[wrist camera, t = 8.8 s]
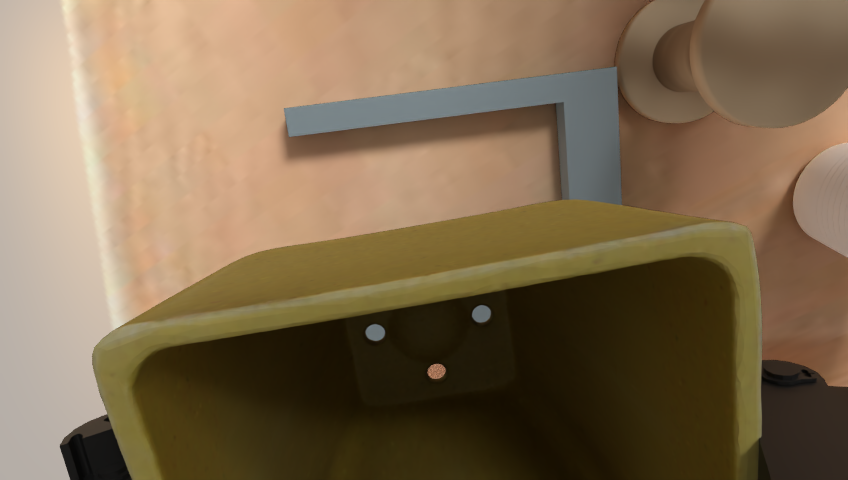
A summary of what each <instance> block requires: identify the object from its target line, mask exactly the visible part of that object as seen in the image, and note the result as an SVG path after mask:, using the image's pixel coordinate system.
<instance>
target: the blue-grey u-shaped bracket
mask: <svg viewBox="0 0 848 480" xmlns="http://www.w3.org/2000/svg"><path fill="white" fill-rule="evenodd" d="M552 103H556V114H557V130H558V145H559V161H560V177H561V193H562V200H572V199H579V200H589V201H597V202H604V203H610V204H617V205H622V194H621V167H620V140H619V112H618V85H617V67H609V68H601V69H593V70H585V71H577V72H569V73H562V74H554V75H546V76H538V77H530V78H522V79H514V80H506V81H498V82H490V83H482V84H474V85H466V86H458V87H450V88H442V89H434V90H427V91H419V92H411V93H403V94H395V95H387V96H379V97H371V98H363V99H355V100H347V101H339V102H331V103H323V104H315V105H307V106H299V107H292V108H284V112H285V117H286V123H287V129H288V134H289V137H293V136H301V135H308V134H316V133H324V132H332V131H340V130H348V129H355V128H363V127H371V126H379V125H387V124H395V123H403V122H410V121H418V120H426V119H434V118H442V117H450V116H458V115H465V114H473V113H481V112H489V111H497V110H505V109H513V108H520V107H528V106H536V105H544V104H552ZM490 315H491V311H490V309H489V308H488V307H487V306H484V305H480V306H477V307H476V308H475V309H474V310H473V313H472V317H473V319H474V320H475V321H476V322H480V323H481V322H485V321H487V320H488V319H489V318H490ZM366 335H367V337H368V338H369V339H371V340H374V341H378V340H381V339H382V338H383V337H384V335H385V330H384V328H383V327H382V326H380V325H377V324H373V325H370V326H369V327H368V328H367V330H366Z"/></svg>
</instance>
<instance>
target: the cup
mask: <svg viewBox="0 0 848 480" xmlns="http://www.w3.org/2000/svg"><path fill="white" fill-rule="evenodd" d="M793 209H794V214H795V217H796V220H797V222H798V224H799V225H800V227H801V228H802V230H803V231H804V232H805V233H806V234H807V235H808V236H810V237H812V238H813V239H815V240H817V241H819V242H820V243H822V244H824V245H826V246H827V247H829V248H831V249H833V250H835V251H836V252H838V253H840V254H842V255H844V256H845V257H847V258H848V143H841V144H838V145H835V146H832V147H830V148H828V149H826V150H824V151H822V152H821V153H820V154H818V155H817V156H816V157H814V158H813V159H812V160H811V161H810V163H809V164H808V165H807V166H806V167H805V169H804V170H803V172H802V173H801V175H800V177H799V179H798V181H797V183H796V187H795V190H794V194H793Z"/></svg>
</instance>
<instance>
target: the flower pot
mask: <svg viewBox="0 0 848 480" xmlns="http://www.w3.org/2000/svg"><path fill="white" fill-rule="evenodd" d="M480 305H484V306H487V307H488V308H489V309H490V311H491V315H490V318H489V319H488V320H487V321H485V322H481V323H480V322H476V321H475V320H474V319H473V317H472V313H473V310H474V309H475V308H476V307H477V306H480ZM373 324H377V325H380V326H382V327H383V328H384V330H385V335H384V337H383V338H382V339H381V340H378V341H374V340H371V339H369V338H368V337H367V335H366V330H367V328H368V327H369V326H370V325H373ZM92 364H93V369H94V373H95V377H96V380H97V384H98V388H99V392H100V395H101V398H102V401H103V403H104V405H105V408H106V411H107V414H108V417H109V420H110V423H111V426H112V429H113V431H114V434H115V437H116V439H117V442H118V445H119V448H120V451H121V453H122V455H123V458H124V460H125V463H126V466H127V469H128V471H129V474H130V476H131V479H132V480H758V455H759V438H761V436H762V409H761V366H762V310H761V295H760V283H759V274H758V266H757V259H756V252H755V247H754V243H753V239H752V235H751V232H750V231H749V229H748V228H747V227H746V226H743V225H740V224H738V223H734V222H727V221H719V220H712V219H706V218H699V217H692V216H686V215H680V214H674V213H667V212H661V211H654V210H648V209H642V208H637V207H630V206H624V205H617V204H610V203H604V202H597V201H589V200H579V199H572V200H558V201H550V202H544V203H538V204H532V205H527V206H522V207H517V208H512V209H507V210H502V211H497V212H491V213H486V214H481V215H475V216H469V217H463V218H458V219H452V220H446V221H441V222H435V223H430V224H424V225H418V226H412V227H406V228H401V229H395V230H389V231H383V232H377V233H371V234H365V235H359V236H353V237H347V238H341V239H335V240H328V241H321V242H315V243H308V244H301V245H294V246H287V247H281V248H275V249H270V250H266V251H262V252H258V253H255V254H252V255H249V256H246V257H244V258H242V259H239V260H237V261H235V262H233V263H231V264H229V265H227V266H226V267H224V268H222V269H220V270H219V271H217V272H215V273H213V274H211V275H210V276H208V277H206V278H204V279H202V280H201V281H199V282H197V283H195V284H194V285H192V286H190V287H188V288H186V289H185V290H183V291H181V292H179V293H177V294H176V295H174V296H172V297H170V298H168V299H167V300H165V301H163V302H162V303H160V304H158V305H156V306H155V307H153V308H151V309H150V310H148V311H146V312H144V313H143V314H141V315H139V316H138V317H136V318H134V319H132V320H131V321H129V322H127V323H125V324H124V325H122V326H120V327H119V328H117V329H115V330H113V331H112V332H111V333H109V334H108V335H107V336H105V337H104V338H103V339H102V340H101V341H100V342H99V343H98V344H97V345H96V346H95V347H94V351H93V354H92ZM433 364H442V365H443V366H444V367H445V369H446V372H445V374H444V376H443V377H442V378H440V379H432V378H430V377H429V376H428V373H427V372H428V368H429V367H430V366H431V365H433Z"/></svg>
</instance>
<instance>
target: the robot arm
mask: <svg viewBox="0 0 848 480" xmlns="http://www.w3.org/2000/svg"><path fill="white" fill-rule="evenodd" d="M761 409H762V436H761V438H759V455H758V480H848V387H834V386H828V385H827V383H826V382H825V380H824V379H823V378H822V377H821V376H820V375H819V374H818V373H817V372H815V371H813V370H811V369H809V368H807V367H805V366H802V365H798V364H795V363H791V362H786V361H778V360H762V366H761ZM60 449H61V452H62V455H63V458H64V461H65V464H66V467H67V471H68V474H69V477H70V480H132V479H131V476H130V474H129V471H128V469H127V466H126V463H125V460H124V458H123V455H122V453H121V451H120V448H119V445H118V442H117V439H116V437H115V434H114V431H113V429H112V426H111V423H110V420H109V417H108V414H107V415H104V416H101V417H99V418H96V419H94V420H91V421H89V422H87V423H85V424H83V425H82V426H80V427H78V428H76V429H75V430H73V431H72V432H71V433H70V434H69V435H67V436H66V437H65V438H64V439H63V441H62V443H61V444H60Z"/></svg>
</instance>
